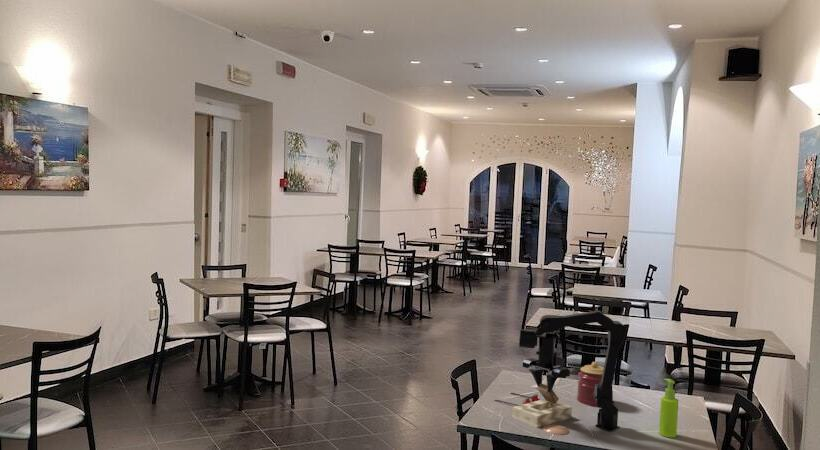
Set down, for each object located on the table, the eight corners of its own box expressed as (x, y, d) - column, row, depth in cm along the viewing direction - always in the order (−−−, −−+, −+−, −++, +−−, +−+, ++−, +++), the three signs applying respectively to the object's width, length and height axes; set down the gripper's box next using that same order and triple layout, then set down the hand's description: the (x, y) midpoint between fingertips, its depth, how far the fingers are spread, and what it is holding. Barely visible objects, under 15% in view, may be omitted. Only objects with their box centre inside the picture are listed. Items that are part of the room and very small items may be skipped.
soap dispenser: (670, 430, 237) (673, 377, 237) (679, 437, 231) (682, 383, 230) (655, 430, 237) (658, 377, 236) (663, 437, 230) (666, 382, 229)
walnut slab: (546, 400, 245) (549, 395, 246) (555, 404, 241) (558, 398, 242) (537, 388, 241) (540, 383, 242) (546, 391, 238) (549, 386, 239)
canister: (611, 410, 259) (613, 367, 258) (578, 407, 261) (580, 364, 260) (606, 400, 272) (608, 359, 271) (575, 397, 274) (577, 356, 273)
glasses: (524, 413, 251) (524, 401, 251) (488, 404, 261) (488, 392, 261) (540, 405, 262) (540, 393, 262) (504, 396, 272) (505, 385, 272)
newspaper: (536, 379, 302) (536, 373, 301) (562, 383, 296) (562, 378, 296) (523, 391, 281) (524, 385, 281) (551, 396, 276) (551, 390, 276)
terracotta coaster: (573, 433, 231) (573, 430, 231) (557, 438, 226) (557, 435, 226) (553, 425, 238) (553, 422, 238) (537, 430, 233) (537, 427, 233)
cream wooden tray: (546, 410, 255) (547, 398, 255) (571, 419, 245) (571, 406, 245) (512, 420, 243) (512, 407, 242) (536, 429, 233) (537, 416, 233)
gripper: (580, 351, 237) (578, 393, 238) (541, 342, 252) (540, 381, 253) (560, 355, 231) (558, 398, 231) (522, 345, 246) (520, 385, 246)
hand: (544, 390), depth 241 cm, fingers closed on walnut slab, 4 cm apart
